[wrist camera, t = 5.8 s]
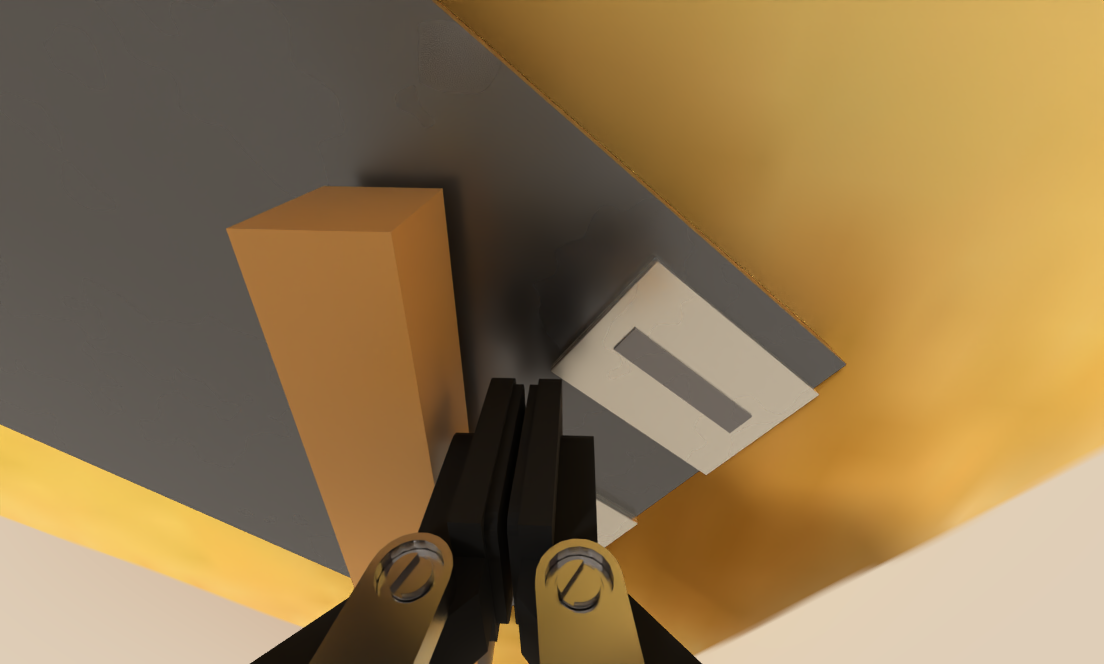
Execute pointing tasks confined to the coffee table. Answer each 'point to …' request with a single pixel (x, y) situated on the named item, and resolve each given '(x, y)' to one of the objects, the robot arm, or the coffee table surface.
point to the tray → (352, 161)
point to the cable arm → (362, 349)
